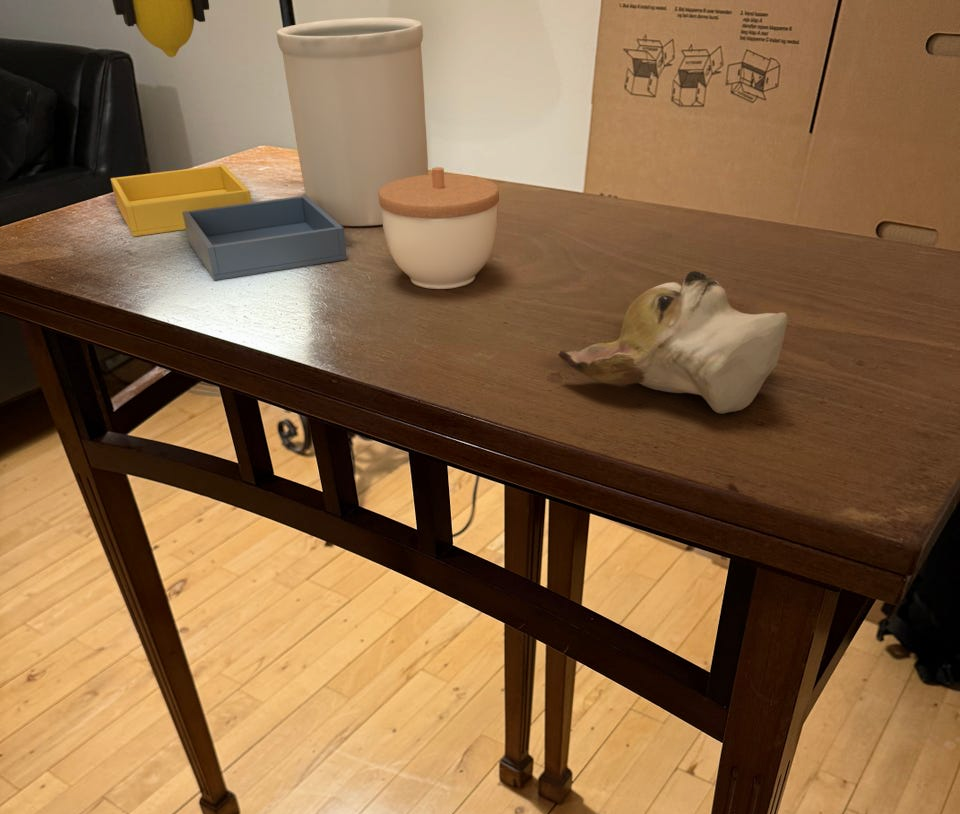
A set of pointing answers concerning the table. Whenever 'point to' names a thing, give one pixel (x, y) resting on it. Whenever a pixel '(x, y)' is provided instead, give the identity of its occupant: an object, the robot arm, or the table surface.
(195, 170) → the yellow tray
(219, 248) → the blue tray
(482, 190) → the trinket box
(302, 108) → the utensil holder
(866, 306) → the table surface
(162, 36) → the lemon
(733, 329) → the ceramic sculpture
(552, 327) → the table surface
